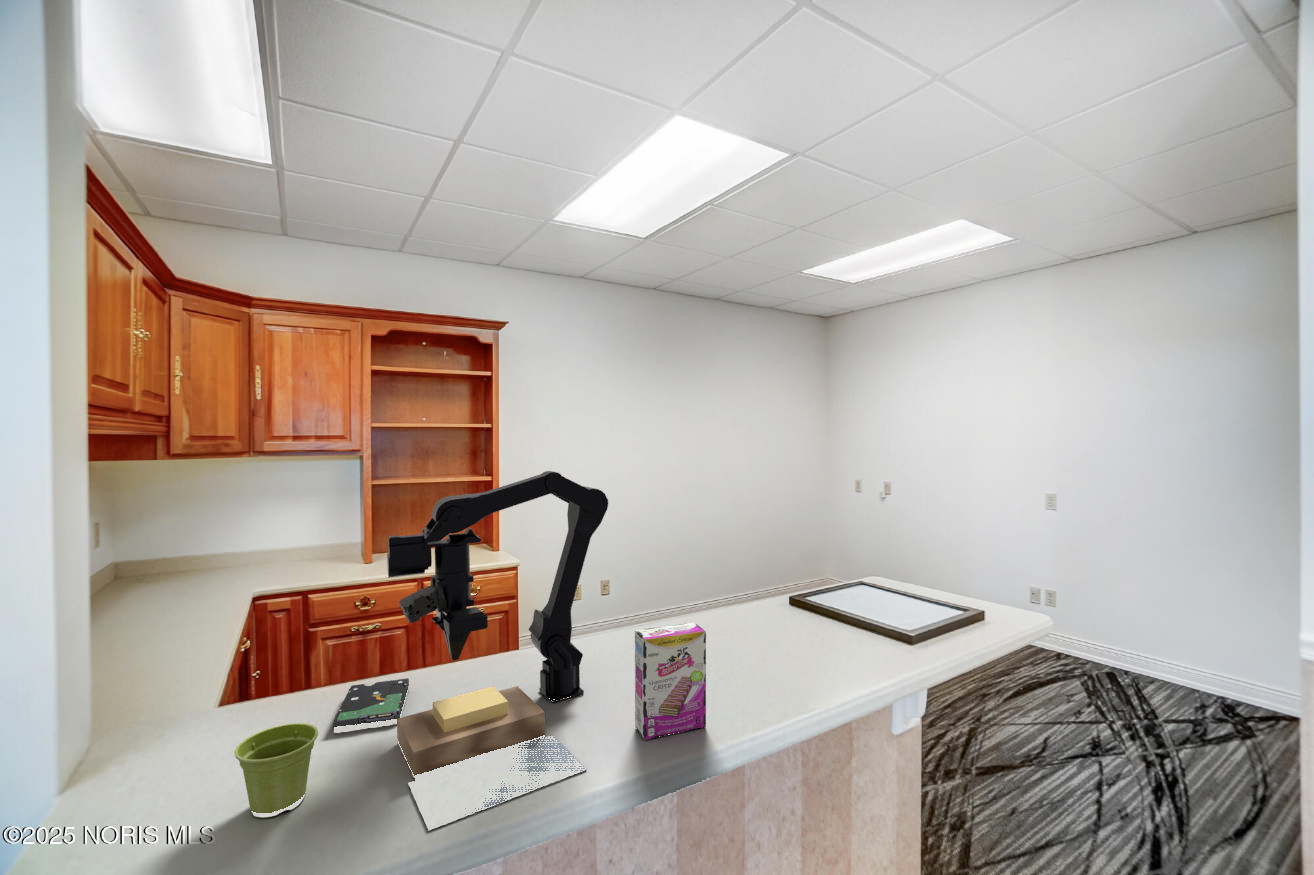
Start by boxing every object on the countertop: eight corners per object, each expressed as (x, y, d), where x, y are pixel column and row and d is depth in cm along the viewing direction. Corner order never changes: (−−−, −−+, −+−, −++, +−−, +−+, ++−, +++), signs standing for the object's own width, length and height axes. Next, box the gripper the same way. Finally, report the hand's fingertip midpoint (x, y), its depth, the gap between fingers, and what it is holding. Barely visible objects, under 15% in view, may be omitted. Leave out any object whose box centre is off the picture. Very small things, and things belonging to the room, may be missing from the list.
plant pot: (333, 782, 83) (331, 721, 83) (294, 827, 73) (292, 758, 73) (266, 784, 82) (264, 723, 82) (218, 830, 73) (216, 761, 73)
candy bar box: (644, 742, 92) (643, 639, 92) (634, 728, 96) (632, 629, 96) (708, 728, 96) (707, 629, 96) (695, 715, 100) (694, 620, 100)
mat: (552, 735, 94) (552, 734, 94) (586, 770, 84) (586, 768, 84) (407, 784, 82) (407, 782, 82) (428, 831, 72) (428, 829, 72)
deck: (517, 708, 104) (517, 685, 104) (545, 736, 94) (544, 711, 94) (397, 743, 93) (396, 718, 93) (414, 780, 83) (413, 752, 83)
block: (493, 697, 99) (493, 686, 99) (508, 713, 94) (507, 701, 94) (432, 714, 94) (432, 702, 94) (444, 732, 88) (444, 719, 88)
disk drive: (350, 700, 110) (332, 737, 96) (349, 685, 110) (332, 720, 96) (409, 691, 113) (401, 726, 99) (409, 677, 113) (400, 710, 99)
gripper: (392, 567, 104) (394, 653, 104) (415, 589, 89) (418, 691, 89) (455, 558, 110) (457, 640, 111) (487, 577, 95) (489, 672, 95)
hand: (454, 659), depth 101 cm, fingers closed
